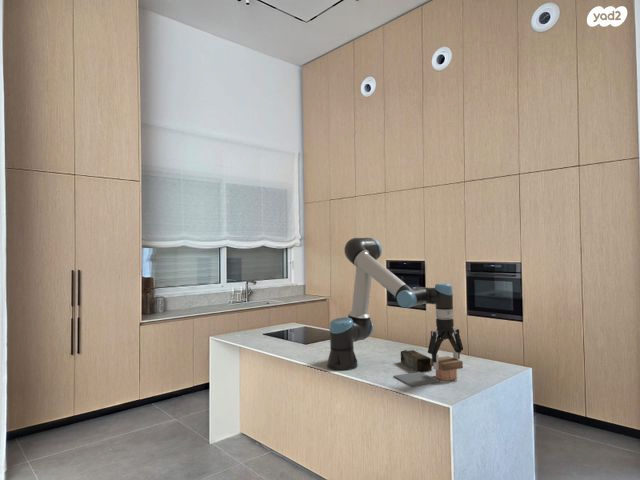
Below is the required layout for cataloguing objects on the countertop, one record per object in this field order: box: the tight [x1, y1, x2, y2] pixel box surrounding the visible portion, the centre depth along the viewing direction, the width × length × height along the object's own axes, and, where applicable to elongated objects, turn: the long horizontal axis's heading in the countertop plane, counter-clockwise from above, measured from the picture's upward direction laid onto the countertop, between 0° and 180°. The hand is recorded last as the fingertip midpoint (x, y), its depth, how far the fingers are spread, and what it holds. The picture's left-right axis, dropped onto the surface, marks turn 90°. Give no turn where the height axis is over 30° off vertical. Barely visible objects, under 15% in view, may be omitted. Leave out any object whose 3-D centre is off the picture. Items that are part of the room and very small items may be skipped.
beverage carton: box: [400, 349, 433, 373], centre depth 209 cm, size 8×19×7 cm, turn 14°
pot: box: [435, 369, 458, 381], centre depth 190 cm, size 9×9×5 cm
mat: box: [393, 371, 440, 388], centre depth 188 cm, size 15×14×1 cm
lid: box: [430, 355, 464, 371], centre depth 191 cm, size 10×10×3 cm
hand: (446, 367), depth 191 cm, fingers closed on lid, 10 cm apart
